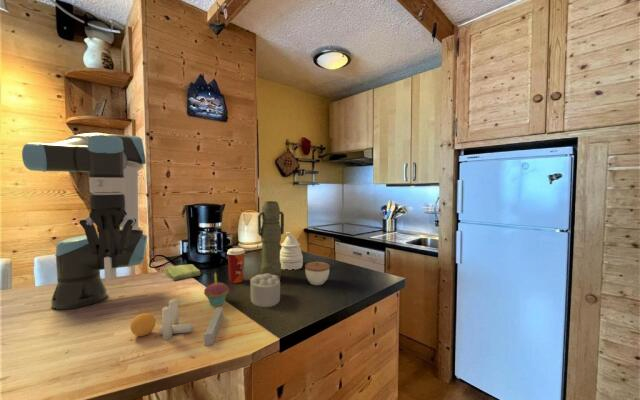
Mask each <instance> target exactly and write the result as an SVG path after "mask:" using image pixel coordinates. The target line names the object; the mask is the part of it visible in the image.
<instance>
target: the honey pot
mask: <svg viewBox="0 0 640 400" xmlns="http://www.w3.org/2000/svg"><path fill="white" fill-rule="evenodd" d="M291 233H292V232H291V231H286V232H285V236H286V237H285V239H284V241H283V242H282V243H280V262H281V270H285V269H288V270H287V271H289V270H290V271H292V269H294V270H300V269H301V268H303V267H302V266H303V263H304V260H303V257H304V256H303V254H302V252H303V251H302V249H301V247H300V246H301V243H300V242H298V240H297V238H296V237H295V236H294V235H293V234H291Z"/></svg>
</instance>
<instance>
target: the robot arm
mask: <svg viewBox="0 0 640 400" xmlns="http://www.w3.org/2000/svg"><path fill="white" fill-rule="evenodd" d="M21 158H22V162H23V164H24V167H25V168H26V169H27V170H29V171H34V172H35V171H37V172H43V173H44V172H45V173H46V172H63V173H64V172H69V173H71V172H76V173H88V181H89V184H88V185H89V186H88V187H89V192H90V193H91V194H90V196H89V207H90V209H91V210H90V213H89V216H88V217H87V218H86V217H85V219H81V220H79V224H80V226H81V227H82V229H83V230H84V234H85V235H78V236H73V237H69V238H67V239H63V240H60V241H59V242H57V244H56V245H55V248H56V249H55V261H56V263H55V264H56V276H57V279H56V280H57V283H56V286H55V290H54V292H53V294H52V297H51V300H50V301H51V308H52V307H53V309H54V308H56V309H55V310H73V309H78V308H84V307H86V306H90V305H93V304H96V303H99V302H100V301H103V300H104V299H105V298H107V296H108V295H107V294H108V293H107V287H106V286H105V283H104V282H112V281H114V280H115V279H117V277H118V276H117V269H118V268H119V269H121V268H126V267H128V268H130V267H134V266H139V265H141V264H143V263H144V261H145V257H146V251H147V243H148V242H147V241H148V235H147V234H144V230H143V229H141V228H140V227H139V185H138V184H139V173H138V172H139V171H140V170H142V168H143V165H146V164H147V163H146V155H145V148H144V144H143V140H142V138H141V137H140V136H138V135H137V136H135V135H130V134H115V133H114V134H112V133H101V132H90V133H89V132H88V133H80V134H76V135H75V134H73V135H72V136H71V135H70V136H69V137H67V138H66V139H64V140H61V141H57V142H52V143H43V142H28V143H25V144H24V145H23V147H22V151H21ZM95 225H96V226H95ZM102 270H104V281H103V280H102V278H101V271H102Z"/></svg>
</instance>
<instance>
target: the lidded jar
mask: <svg viewBox="0 0 640 400" xmlns="http://www.w3.org/2000/svg"><path fill="white" fill-rule="evenodd" d="M304 268H305V269H304V271H305V277H306V279H307V281H308V282H309V284H310V285H313V286H321V285H324V284H325V283H326V281H327V280H328V279H329V275H330V268H331V267H330V264H329V263H327V262H322V261H318V260H316V261H312V262H311V261H310V262H308V263H305V265H304Z"/></svg>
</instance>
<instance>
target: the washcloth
mask: <svg viewBox="0 0 640 400" xmlns="http://www.w3.org/2000/svg"><path fill="white" fill-rule="evenodd" d="M164 273H165V274H166V275H167V277H169V279H171V280H172V281H178V280H179V281H180V280H185V279H188V278H195V277H200V276H201V275H202V272H201V270H200V269H198V268H197V267H196V266H195V265H194V264H191V263H190V264H189V263H188V264H181V265H180V264H178V265H176V266H167V267H165V271H164Z"/></svg>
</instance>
